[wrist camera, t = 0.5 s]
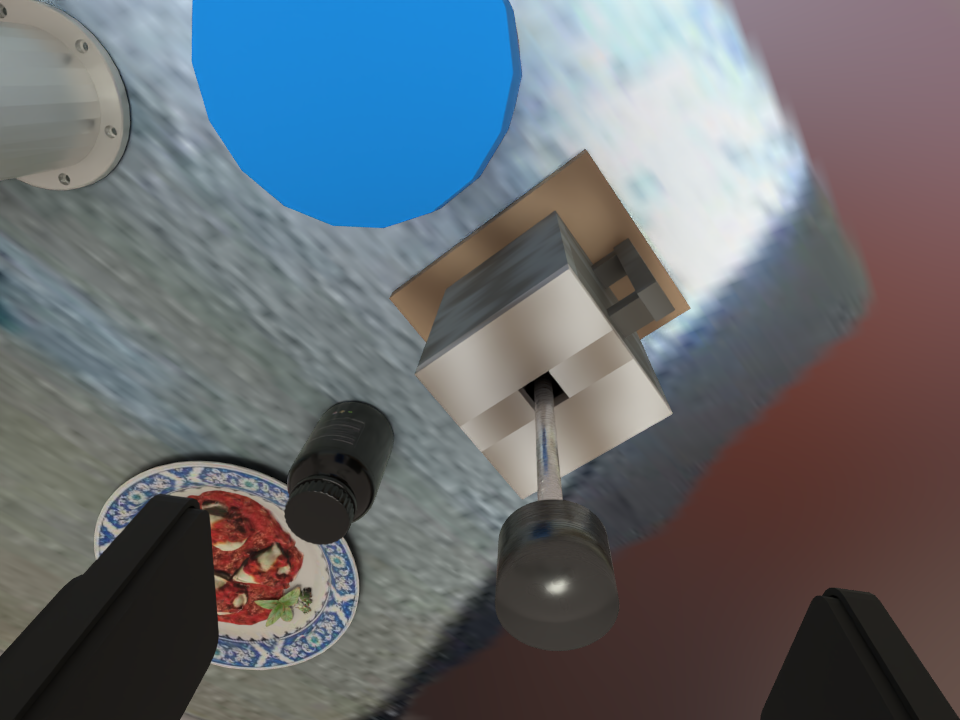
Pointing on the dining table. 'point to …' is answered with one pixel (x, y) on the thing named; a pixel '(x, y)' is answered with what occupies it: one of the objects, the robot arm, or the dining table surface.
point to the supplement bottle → (337, 472)
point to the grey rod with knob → (554, 556)
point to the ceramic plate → (252, 563)
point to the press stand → (545, 324)
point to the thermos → (358, 98)
